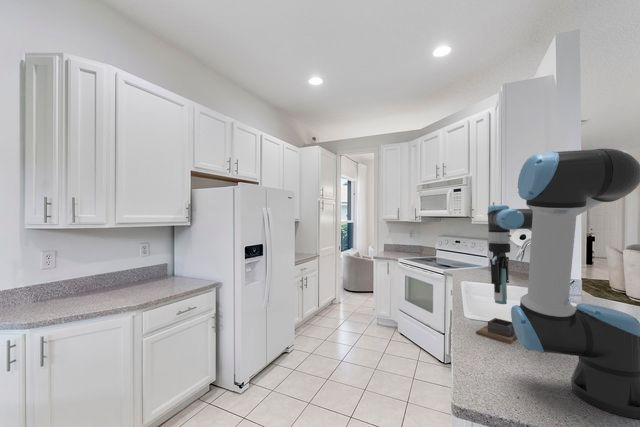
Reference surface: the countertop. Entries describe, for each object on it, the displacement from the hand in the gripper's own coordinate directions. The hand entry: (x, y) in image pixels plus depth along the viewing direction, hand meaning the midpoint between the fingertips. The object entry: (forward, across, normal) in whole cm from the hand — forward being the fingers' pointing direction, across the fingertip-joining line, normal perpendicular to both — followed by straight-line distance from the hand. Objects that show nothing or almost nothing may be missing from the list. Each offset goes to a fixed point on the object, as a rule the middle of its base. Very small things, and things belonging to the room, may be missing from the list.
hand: (500, 299), depth 113 cm
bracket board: (+15, 0, +1) cm, 15 cm away
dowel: (+1, 0, 0) cm, 1 cm away
